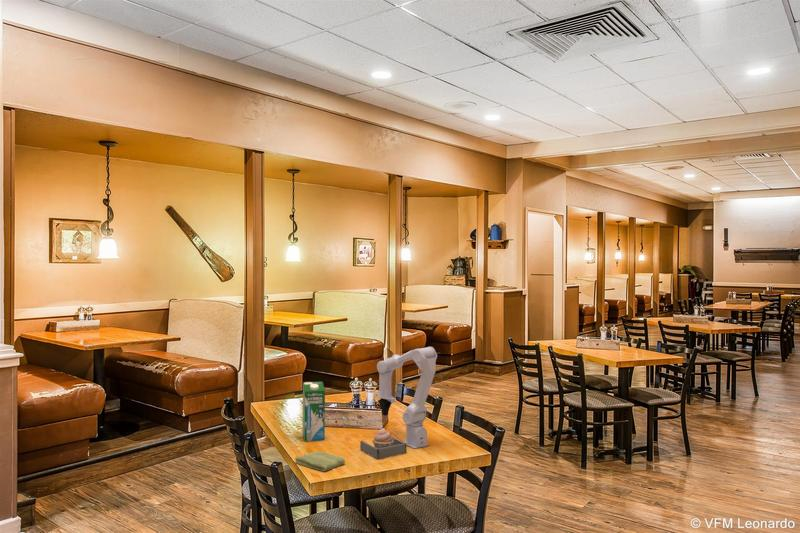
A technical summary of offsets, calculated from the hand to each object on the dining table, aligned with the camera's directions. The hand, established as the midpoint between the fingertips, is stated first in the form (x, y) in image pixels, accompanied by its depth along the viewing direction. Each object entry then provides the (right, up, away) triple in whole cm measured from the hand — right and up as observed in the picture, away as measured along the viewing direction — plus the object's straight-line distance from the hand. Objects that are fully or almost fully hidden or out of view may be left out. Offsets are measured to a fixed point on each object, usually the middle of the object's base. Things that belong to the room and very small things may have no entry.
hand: (385, 415), depth 266 cm
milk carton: (-33, -9, -5) cm, 34 cm away
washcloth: (-25, -10, -38) cm, 47 cm away
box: (0, -10, -23) cm, 24 cm away
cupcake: (0, -10, -23) cm, 25 cm away
